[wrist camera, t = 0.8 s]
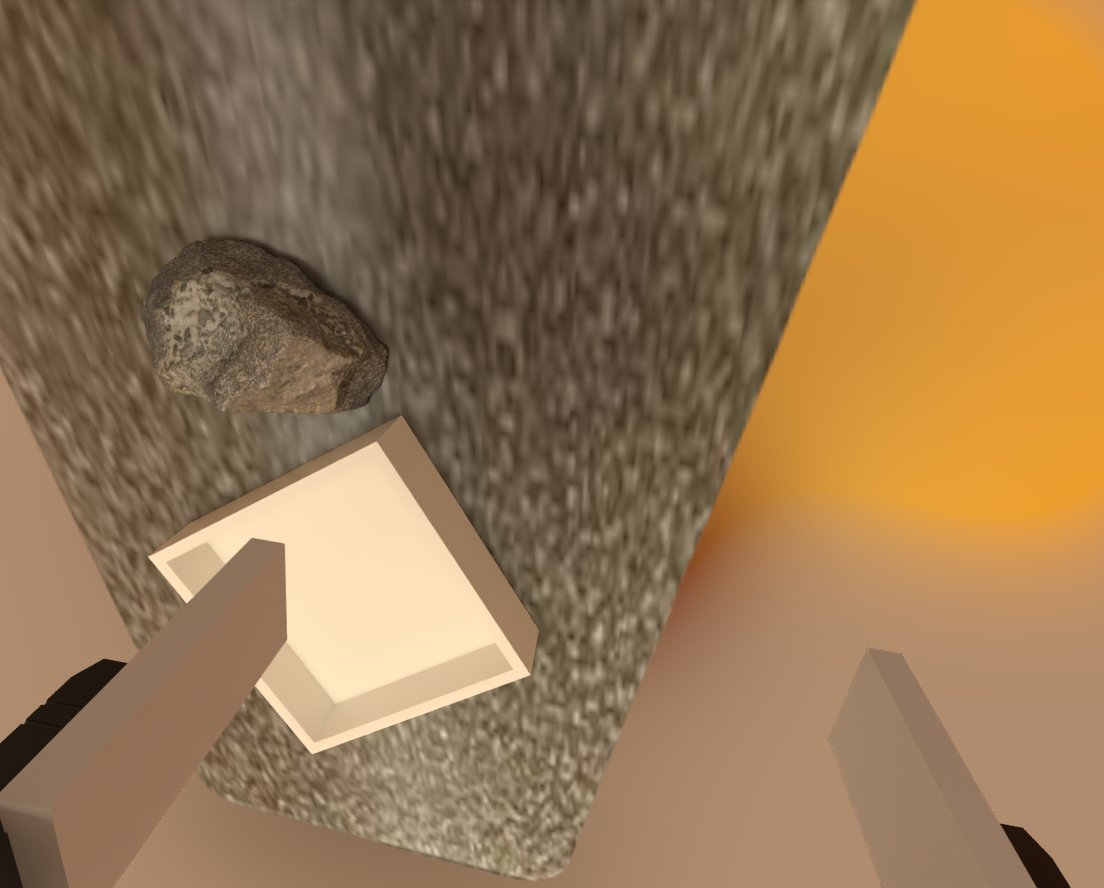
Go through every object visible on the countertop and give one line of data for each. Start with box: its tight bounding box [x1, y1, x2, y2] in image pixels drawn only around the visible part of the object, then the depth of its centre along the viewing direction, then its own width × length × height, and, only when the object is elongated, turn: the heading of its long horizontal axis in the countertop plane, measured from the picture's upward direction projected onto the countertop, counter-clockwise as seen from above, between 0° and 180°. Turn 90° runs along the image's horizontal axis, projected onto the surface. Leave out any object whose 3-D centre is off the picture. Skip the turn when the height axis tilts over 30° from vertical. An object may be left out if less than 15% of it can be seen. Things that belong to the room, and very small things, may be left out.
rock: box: [140, 240, 387, 415], centre depth 36 cm, size 13×9×6 cm, turn 80°
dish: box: [149, 415, 539, 754], centre depth 43 cm, size 18×18×4 cm
